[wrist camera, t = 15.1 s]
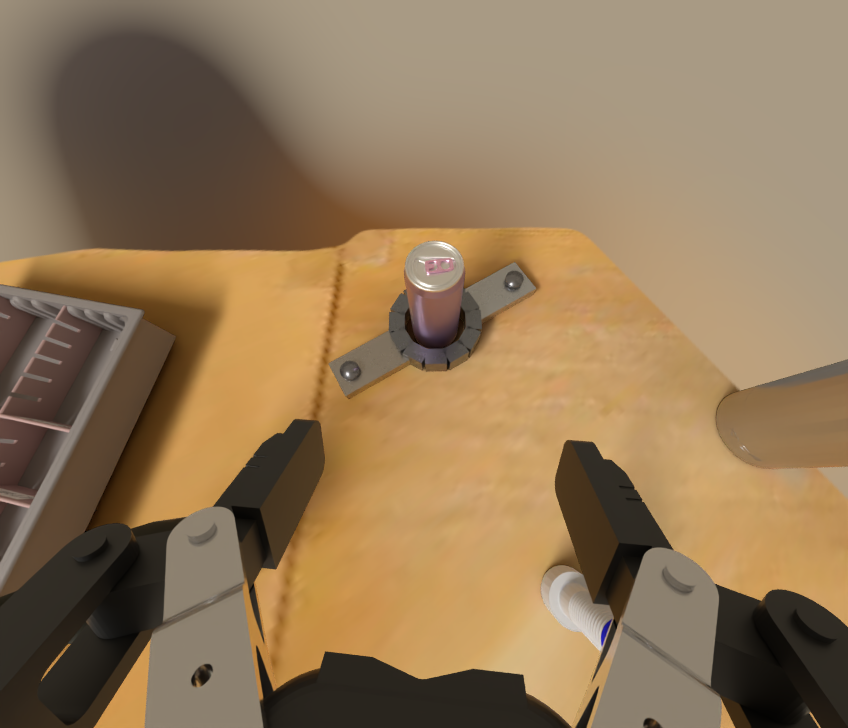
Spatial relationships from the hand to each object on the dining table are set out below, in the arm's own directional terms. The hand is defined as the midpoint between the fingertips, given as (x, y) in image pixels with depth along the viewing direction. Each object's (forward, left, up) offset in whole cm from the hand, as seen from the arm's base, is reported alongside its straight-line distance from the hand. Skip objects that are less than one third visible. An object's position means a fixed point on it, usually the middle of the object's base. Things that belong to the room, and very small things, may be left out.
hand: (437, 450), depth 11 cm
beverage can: (-9, -16, -31) cm, 36 cm away
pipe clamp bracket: (-9, -16, -31) cm, 36 cm away
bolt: (-5, +17, -31) cm, 36 cm away
